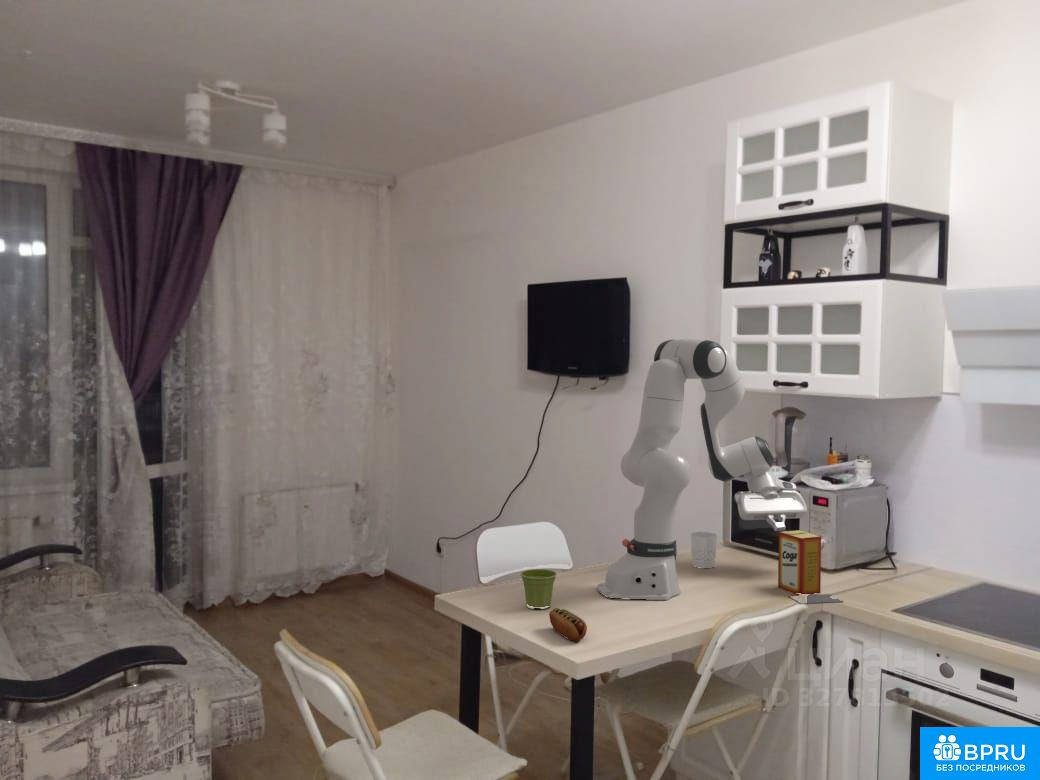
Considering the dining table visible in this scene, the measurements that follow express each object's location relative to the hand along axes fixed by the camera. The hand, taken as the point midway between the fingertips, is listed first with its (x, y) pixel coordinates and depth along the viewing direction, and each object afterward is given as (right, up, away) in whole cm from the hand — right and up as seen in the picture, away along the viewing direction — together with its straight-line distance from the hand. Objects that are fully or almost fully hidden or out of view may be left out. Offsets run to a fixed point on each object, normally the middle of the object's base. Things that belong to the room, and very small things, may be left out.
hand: (780, 529), depth 241 cm
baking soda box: (+2, -15, -11) cm, 19 cm away
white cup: (-19, -14, +16) cm, 28 cm away
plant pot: (-71, -15, -27) cm, 77 cm away
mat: (+3, -15, -20) cm, 25 cm away
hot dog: (-64, -16, -50) cm, 83 cm away
